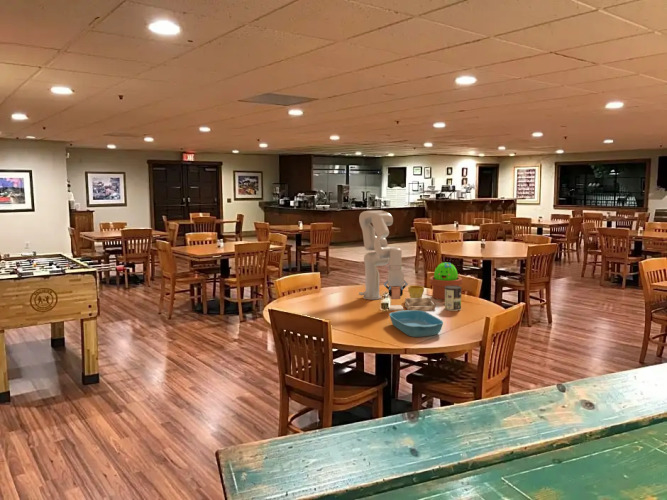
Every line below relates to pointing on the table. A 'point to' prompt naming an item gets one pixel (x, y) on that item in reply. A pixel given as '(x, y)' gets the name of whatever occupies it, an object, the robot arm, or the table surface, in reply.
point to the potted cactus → (444, 279)
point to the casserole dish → (416, 323)
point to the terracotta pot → (395, 292)
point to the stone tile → (396, 307)
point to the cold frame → (419, 304)
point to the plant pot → (415, 291)
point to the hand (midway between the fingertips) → (395, 295)
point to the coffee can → (453, 298)
